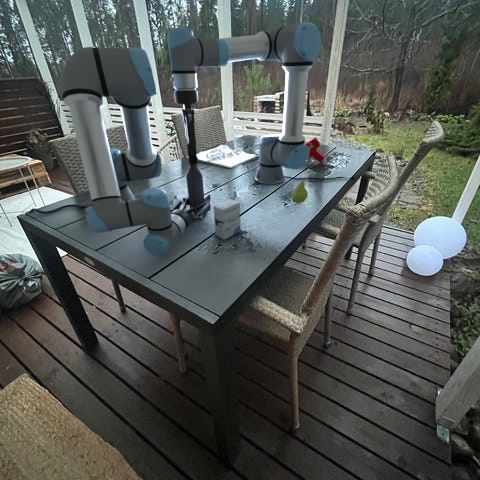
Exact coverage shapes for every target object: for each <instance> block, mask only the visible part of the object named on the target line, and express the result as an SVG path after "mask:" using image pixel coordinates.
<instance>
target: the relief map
mask: <svg viewBox="0 0 480 480" xmlns="http://www.w3.org/2000/svg"><path fill="white" fill-rule="evenodd" d="M196 154H197V156H198V162H202V163H207V164H211V165H215V166H219V167H223V168H228V169H233V168H235V167H237V166H239V165H242V164H245V163H247V162H249V161H252V160H254V159H256V158H257V155H256V154H252V153H251V154H250V153H247V152H245V151H244V150H243V149H242V148H241V147H239V148H237V149H232V148H230V147H229V146H228V145H227V144H222V143H221V144H220V145H218V146H216V147H214V148H212V149H208V150H205V151H199V152H198V153H196Z"/></svg>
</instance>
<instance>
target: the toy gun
mask: <svg viewBox="0 0 480 480" xmlns="http://www.w3.org/2000/svg"><path fill="white" fill-rule="evenodd" d="M304 145H306V146H307V147H308V148H309V156H308V159H307V160H309V159H310V158H313V159H315V160H316V162H317V164H320V163H323V162H324V159H325V157H326V156H325V155H324V154H323V153H322V152H320V151H319V149H320V147H321V142H320V141H319V140H318V138H317V136H314V137H313V138H311V139H310V140H308V141H306V142H305V144H304ZM318 148H319V149H318ZM322 160H323V161H322ZM318 161H319V162H320V163H318ZM321 161H322V162H321Z"/></svg>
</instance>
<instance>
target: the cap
mask: <svg viewBox="0 0 480 480" xmlns="http://www.w3.org/2000/svg"><path fill="white" fill-rule="evenodd" d="M186 162H187V164H189V163H190V162H189V156H188V155H187V156H186ZM197 163H199V161H198V156H197Z"/></svg>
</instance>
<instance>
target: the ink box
mask: <svg viewBox="0 0 480 480" xmlns="http://www.w3.org/2000/svg"><path fill="white" fill-rule="evenodd" d="M213 214H214V215H213V217H214V218H213V219H214V233H215V236H217V237H218V238H220V239H222V240H226V239H228V238H230V237H232V236H234V235H236V234H238V233H240V232H241V229H242V228H241V202H239V201H237V200H235V199H233V198H230V199H227V200H226V201H223V202H219V203H218V204H215V205H213Z"/></svg>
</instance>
